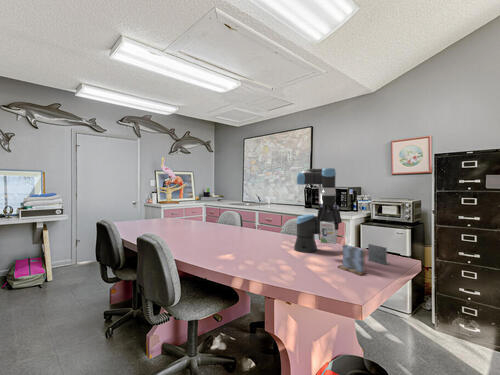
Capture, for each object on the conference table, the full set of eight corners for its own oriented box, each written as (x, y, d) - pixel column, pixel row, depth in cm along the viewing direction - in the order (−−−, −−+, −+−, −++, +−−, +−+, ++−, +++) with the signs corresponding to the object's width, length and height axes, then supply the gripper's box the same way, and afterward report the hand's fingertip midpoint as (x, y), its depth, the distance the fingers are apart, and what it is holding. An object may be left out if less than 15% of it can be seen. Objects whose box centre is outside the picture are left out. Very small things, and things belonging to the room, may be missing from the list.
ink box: (337, 242, 151) (337, 222, 151) (335, 244, 147) (335, 223, 147) (322, 240, 155) (322, 221, 155) (320, 242, 151) (320, 222, 151)
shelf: (337, 267, 137) (337, 244, 137) (371, 260, 150) (371, 239, 150) (360, 275, 125) (360, 250, 125) (394, 266, 138) (394, 244, 138)
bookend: (368, 260, 146) (368, 244, 146) (373, 259, 148) (373, 243, 148) (385, 265, 137) (385, 248, 137) (390, 263, 139) (390, 247, 139)
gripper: (310, 194, 158) (310, 231, 159) (339, 196, 139) (339, 238, 140) (319, 194, 162) (319, 229, 163) (348, 195, 142) (348, 236, 143)
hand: (328, 233), depth 151 cm, fingers closed on ink box, 9 cm apart
